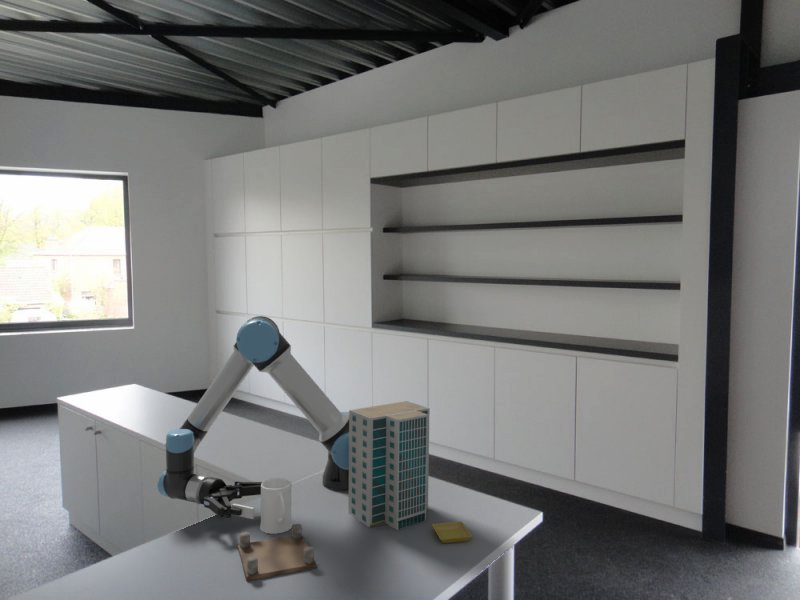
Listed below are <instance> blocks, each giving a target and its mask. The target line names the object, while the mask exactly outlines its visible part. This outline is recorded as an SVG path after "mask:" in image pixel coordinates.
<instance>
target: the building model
mask: <svg viewBox="0 0 800 600" xmlns="http://www.w3.org/2000/svg"><path fill="white" fill-rule="evenodd" d="M348 412H349V491H348V514H349V515H350V516H352V517H353V518H355V519H356V520H358V521H359V522H360V523H362V524H364V525H365V526H366V527H368V528H373V527H376V526H380V525H382V524H386V525H388V526H389V527H391V528H393V529H394V530H396V531H398V530H401V529H405V528H408V527H411V526H413V525H417V524H420V523H423V522H427V510H429V470H430V469H429V467H430V466H429V465H430V463H429V462H430V461H429V457H430V456H429V455H430V407H427V406H424V405H421V404H417V403H415V402H413V401H409V400H403V401H397V402H392V403H391V402H390V403H386V404H378V405H372V406H367V407H360V408H355V409H354V408H353V409H349V411H348Z"/></svg>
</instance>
